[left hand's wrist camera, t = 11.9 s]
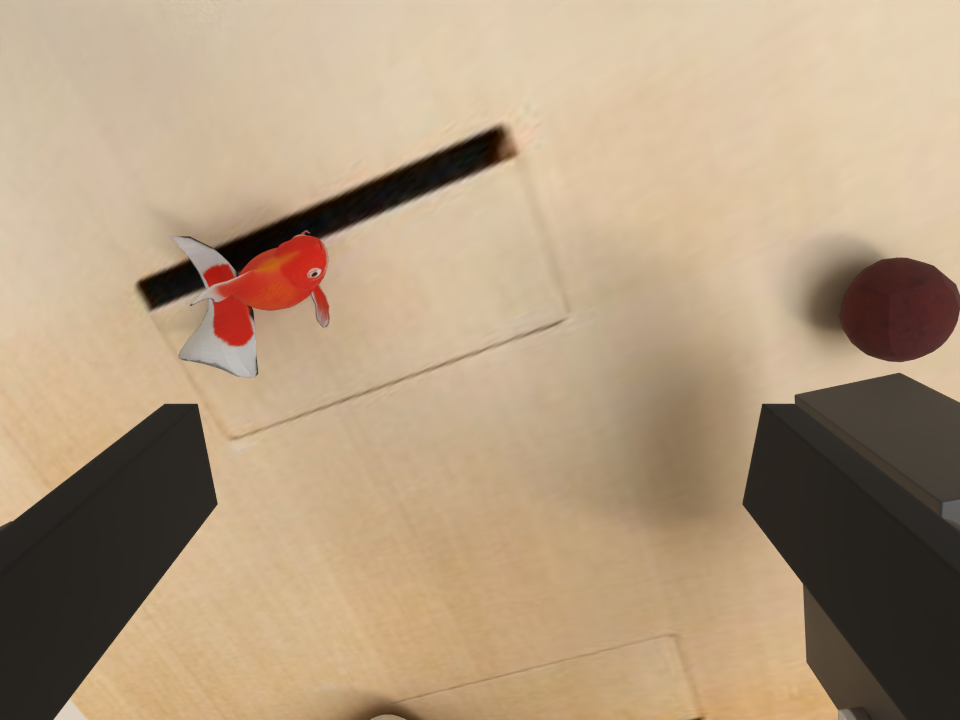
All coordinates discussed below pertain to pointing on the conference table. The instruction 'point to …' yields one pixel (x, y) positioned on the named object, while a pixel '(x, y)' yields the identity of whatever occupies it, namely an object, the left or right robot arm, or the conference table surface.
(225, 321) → the fish
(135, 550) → the left robot arm
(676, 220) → the conference table surface
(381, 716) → the projector
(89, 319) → the conference table surface
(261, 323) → the conference table surface
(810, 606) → the box
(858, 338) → the potato
